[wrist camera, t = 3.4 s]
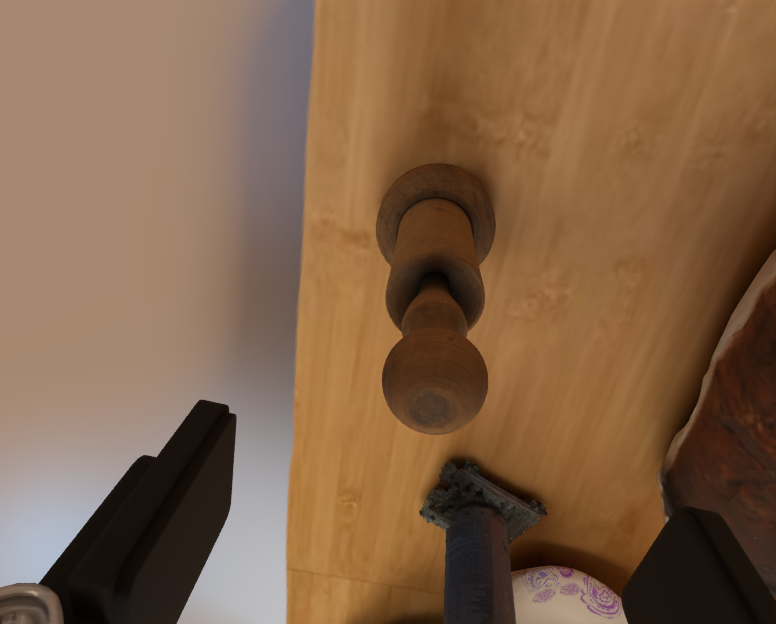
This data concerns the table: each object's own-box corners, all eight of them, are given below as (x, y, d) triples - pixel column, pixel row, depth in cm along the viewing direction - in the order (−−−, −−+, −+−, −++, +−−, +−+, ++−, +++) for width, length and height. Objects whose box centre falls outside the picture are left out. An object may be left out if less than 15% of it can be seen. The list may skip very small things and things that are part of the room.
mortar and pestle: (409, 287, 31) (381, 524, 15) (359, 196, 29) (262, 360, 13) (509, 243, 29) (598, 458, 13) (464, 141, 27) (506, 251, 11)
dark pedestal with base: (409, 515, 40) (399, 679, 29) (450, 450, 36) (455, 609, 26) (509, 551, 41) (535, 724, 30) (558, 491, 37) (608, 662, 26)
